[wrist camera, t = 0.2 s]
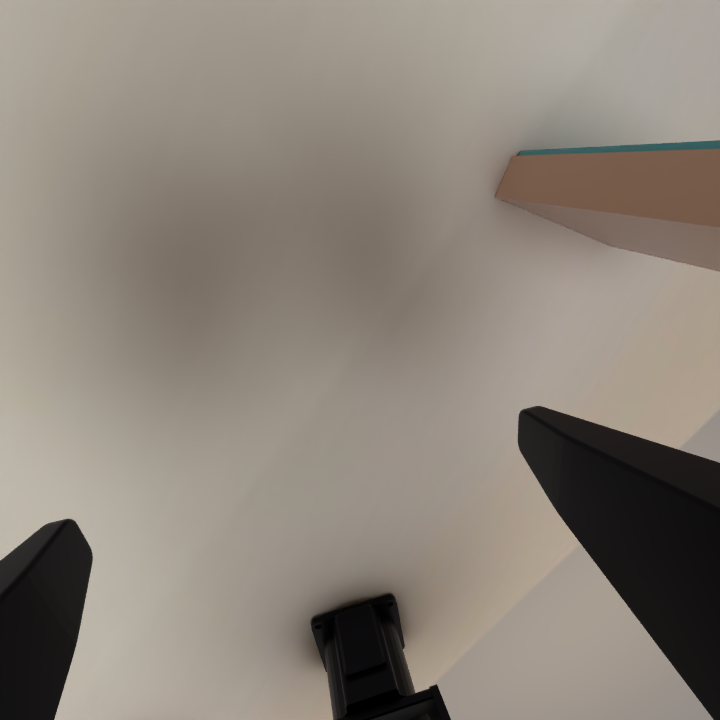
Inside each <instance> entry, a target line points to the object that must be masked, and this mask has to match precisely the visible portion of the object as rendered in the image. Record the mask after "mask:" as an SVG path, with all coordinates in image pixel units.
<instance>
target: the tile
mask: <svg viewBox="0 0 720 720" xmlns="http://www.w3.org/2000/svg"><path fill="white" fill-rule="evenodd" d="M495 197H496V198H499V199H501V200H503V201H506V202H508V203H510V204H513V205H515V206H517V207H520V208H522V209H524V210H527V211H529V212H531V213H534V214H536V215H538V216H541V217H543V218H545V219H548V220H550V221H552V222H555V223H557V224H559V225H562V226H564V227H566V228H569V229H571V230H573V231H576V232H578V233H581V234H583V235H585V236H588V237H590V238H592V239H595V240H597V241H599V242H602V243H604V244H606V245H609V246H612V247H616V248H620V249H625V250H629V251H633V252H637V253H642V254H646V255H650V256H655V257H659V258H663V259H668V260H672V261H676V262H681V263H685V264H689V265H694V266H698V267H702V268H706V269H711V270H715V271H719V272H720V141H701V142H682V143H663V144H644V145H625V146H605V147H586V148H567V149H548V150H529V151H520V153H519V156H512V158H511V160H510V162H509V165H508V167H507V169H506V172H505V174H504V176H503V179H502V181H501V183H500V186H499V188H498V190H497V193H496V195H495Z"/></svg>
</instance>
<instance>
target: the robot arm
mask: <svg viewBox="0 0 720 720" xmlns="http://www.w3.org/2000/svg"><path fill="white" fill-rule="evenodd" d="M518 446H519V449H520V451H521V453H522V455H523V457H524V458H525V460H526V462H527V463H528V465H529V467H530V468H531V470H532V472H533V473H534V475H535V477H536V478H537V480H538V482H539V483H540V485H541V487H542V488H543V490H544V492H545V493H546V495H547V497H548V498H549V500H550V501H551V503H552V505H553V506H554V508H555V509H556V511H557V512H558V514H559V515H560V516H561V518H562V519H563V521H564V522H565V523H566V525H567V526H568V527H569V529H570V530H571V531H572V533H573V534H574V535H575V537H576V538H577V539H578V541H579V542H580V543H581V544H582V546H583V547H584V548H585V550H586V551H587V552H588V554H589V555H590V556H591V558H592V559H593V560H594V562H595V563H596V564H597V566H598V567H599V568H600V570H601V571H602V572H603V574H604V575H605V576H606V578H607V579H608V580H609V582H610V583H611V584H612V585H613V587H614V588H615V589H616V591H617V592H618V593H619V595H620V596H621V597H622V599H623V600H624V601H625V603H626V604H627V605H628V607H629V608H630V609H631V611H632V612H633V613H634V615H635V616H636V617H637V619H638V620H639V621H640V623H641V624H642V625H643V627H644V628H645V629H646V631H647V632H648V633H649V634H650V636H651V637H652V638H653V640H654V641H655V642H656V644H657V645H658V646H659V648H660V649H661V650H662V652H663V653H664V654H665V656H666V657H667V658H668V659H669V661H670V662H671V663H672V665H673V666H674V668H675V669H676V670H677V672H678V673H679V674H680V676H681V677H682V678H683V680H684V681H685V682H686V683H687V685H688V686H689V687H690V689H691V690H692V691H693V693H694V694H695V695H696V697H697V698H698V699H699V701H700V702H701V703H702V705H703V706H704V707H705V709H706V710H707V711H708V713H709V714H710V715H711V717H712V718H713V719H714V720H720V463H718V462H716V461H712V460H709V459H706V458H703V457H700V456H697V455H693V454H690V453H687V452H684V451H681V450H678V449H674V448H671V447H668V446H665V445H662V444H659V443H655V442H652V441H649V440H646V439H643V438H640V437H637V436H633V435H630V434H627V433H624V432H621V431H618V430H614V429H611V428H608V427H605V426H602V425H599V424H595V423H592V422H589V421H586V420H583V419H580V418H576V417H573V416H570V415H567V414H564V413H561V412H557V411H554V410H551V409H548V408H545V407H542V406H535V407H531V408H527V409H523V410H522V411H520V413H519V421H518ZM92 560H93V556H92V551H91V548H90V546H89V544H88V542H87V541H86V539H85V537H84V535H83V534H82V532H81V530H80V528H79V526H78V525H77V523H76V522H75V521H74V520H72V519H64V520H60V521H56V522H52V523H48V524H46V525H44V526H43V527H42V528H40V529H39V530H38V531H37V532H35V533H34V534H33V535H32V536H30V537H29V538H28V539H27V540H25V541H24V542H23V543H22V544H21V545H19V546H18V547H17V548H16V549H14V550H13V551H12V552H11V553H9V554H8V555H7V556H6V557H4V558H3V559H2V560H1V561H0V720H54V718H55V715H56V712H57V708H58V705H59V702H60V698H61V695H62V692H63V688H64V685H65V682H66V678H67V675H68V672H69V668H70V665H71V662H72V658H73V655H74V651H75V647H76V643H77V639H78V634H79V630H80V624H81V619H82V614H83V609H84V603H85V598H86V593H87V588H88V582H89V577H90V572H91V567H92ZM311 628H312V632H313V634H314V637H315V640H316V643H317V646H318V649H319V652H320V655H321V658H322V661H323V664H324V667H325V670H326V672H327V675H328V682H329V690H330V697H331V705H332V712H333V720H451V719H450V716H449V714H448V711H447V709H446V706H445V704H444V701H443V699H442V696H441V694H440V691H439V689H438V686H437V684H436V685H433V686H430V687H429V689H427V690H424V691H421V692H418V693H415V689H414V686H413V683H412V679H411V676H410V673H409V669H408V666H407V662H406V659H405V656H404V652H403V649H404V647H405V645H404V640H403V634H402V629H401V624H400V618H399V613H398V607H397V602H396V599H395V596H393V595H387V596H384V597H381V598H378V599H374V600H371V601H368V602H365V603H361V604H358V605H355V606H352V607H349V608H345V609H342V610H339V611H336V612H332V613H329V614H326V615H323V616H320V617H316V618H314V619H313V620H312V621H311Z"/></svg>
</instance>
